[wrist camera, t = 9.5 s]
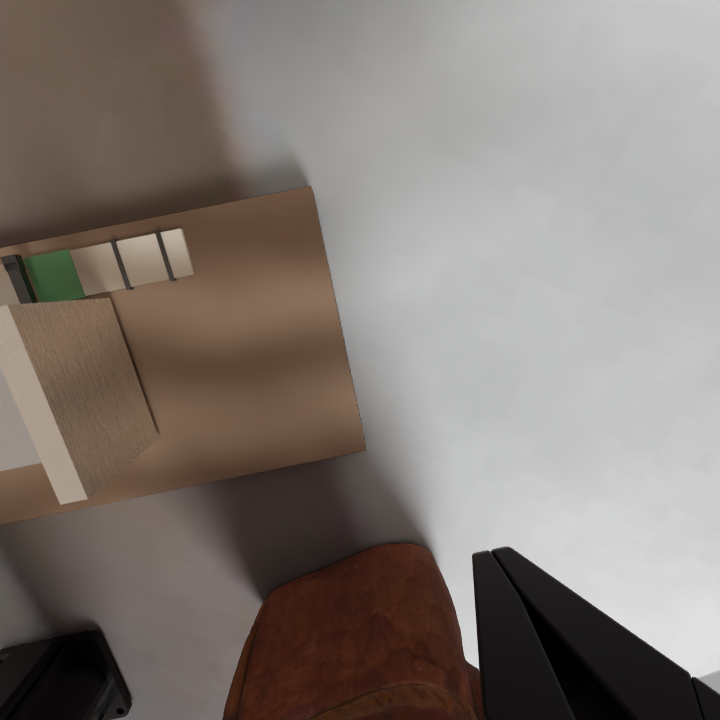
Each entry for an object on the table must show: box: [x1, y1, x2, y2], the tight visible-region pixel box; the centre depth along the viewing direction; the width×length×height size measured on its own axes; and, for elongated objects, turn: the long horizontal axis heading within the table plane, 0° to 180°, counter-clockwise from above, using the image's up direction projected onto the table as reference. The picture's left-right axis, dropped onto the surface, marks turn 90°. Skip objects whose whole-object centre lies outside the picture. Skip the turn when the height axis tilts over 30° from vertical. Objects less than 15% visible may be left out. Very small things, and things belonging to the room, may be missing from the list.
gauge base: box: [0, 186, 366, 525], centre depth 15 cm, size 13×24×6 cm, turn 101°
